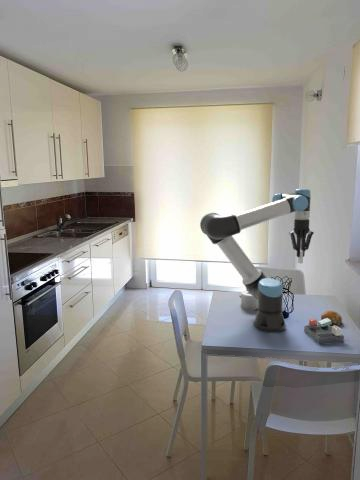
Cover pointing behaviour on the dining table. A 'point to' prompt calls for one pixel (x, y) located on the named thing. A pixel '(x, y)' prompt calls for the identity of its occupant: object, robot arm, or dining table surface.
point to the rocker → (324, 322)
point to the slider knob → (336, 330)
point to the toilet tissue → (248, 301)
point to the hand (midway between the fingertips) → (300, 262)
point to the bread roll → (332, 317)
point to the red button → (312, 322)
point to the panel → (323, 334)
